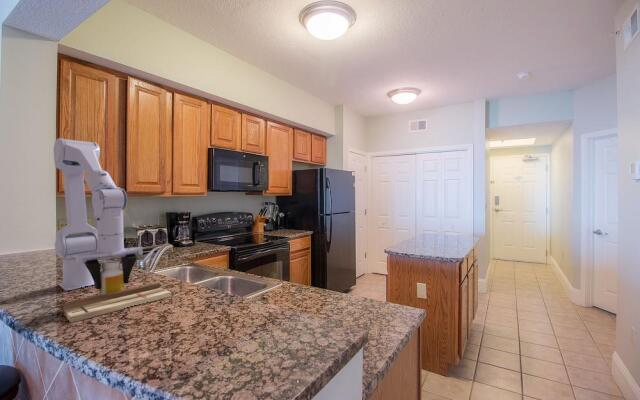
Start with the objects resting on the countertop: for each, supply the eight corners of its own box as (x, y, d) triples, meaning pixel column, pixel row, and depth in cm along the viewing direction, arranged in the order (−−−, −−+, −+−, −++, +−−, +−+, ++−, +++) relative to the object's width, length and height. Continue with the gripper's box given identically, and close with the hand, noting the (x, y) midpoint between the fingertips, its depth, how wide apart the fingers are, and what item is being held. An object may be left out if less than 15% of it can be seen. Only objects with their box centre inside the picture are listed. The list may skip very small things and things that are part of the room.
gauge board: (63, 313, 70) (62, 303, 70) (158, 290, 86) (158, 282, 86) (71, 322, 65) (70, 311, 65) (170, 296, 81) (170, 287, 81)
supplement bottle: (128, 295, 82) (128, 259, 82) (113, 302, 77) (112, 264, 77) (110, 295, 83) (109, 259, 83) (94, 301, 78) (93, 264, 78)
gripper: (80, 239, 72) (81, 296, 72) (146, 232, 83) (147, 281, 83) (73, 236, 76) (74, 290, 77) (136, 230, 87) (138, 277, 88)
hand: (112, 285), depth 80 cm, fingers open, 6 cm apart
